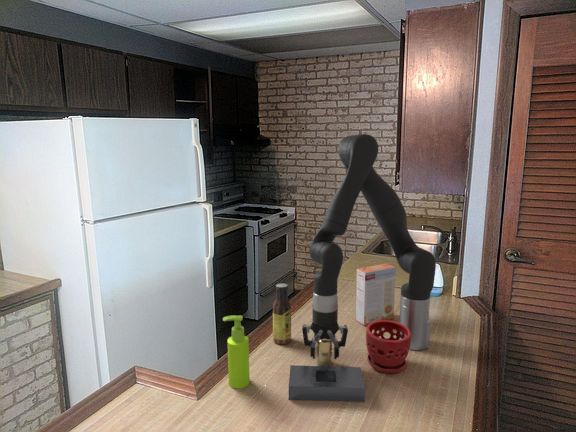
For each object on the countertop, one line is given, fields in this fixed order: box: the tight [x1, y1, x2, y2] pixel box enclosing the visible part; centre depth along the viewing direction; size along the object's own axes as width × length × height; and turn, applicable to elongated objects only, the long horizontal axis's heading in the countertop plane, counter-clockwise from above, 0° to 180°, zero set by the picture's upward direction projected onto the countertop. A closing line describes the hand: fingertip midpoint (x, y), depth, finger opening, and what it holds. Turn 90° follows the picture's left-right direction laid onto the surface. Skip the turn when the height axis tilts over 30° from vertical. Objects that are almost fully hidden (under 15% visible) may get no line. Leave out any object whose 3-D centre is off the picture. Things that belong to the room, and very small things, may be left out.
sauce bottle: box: [272, 283, 292, 345], centre depth 139 cm, size 6×6×20 cm
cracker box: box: [355, 263, 397, 327], centre depth 155 cm, size 14×6×21 cm, turn 115°
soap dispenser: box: [222, 314, 251, 389], centre depth 116 cm, size 6×7×20 cm
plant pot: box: [365, 320, 411, 374], centre depth 125 cm, size 13×13×12 cm
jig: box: [288, 364, 366, 403], centre depth 114 cm, size 20×10×4 cm, turn 87°
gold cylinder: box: [316, 338, 333, 366], centre depth 126 cm, size 4×4×8 cm
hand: (324, 357), depth 126 cm, fingers open, 6 cm apart
